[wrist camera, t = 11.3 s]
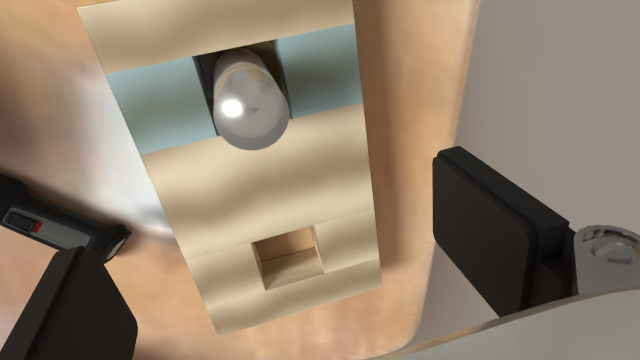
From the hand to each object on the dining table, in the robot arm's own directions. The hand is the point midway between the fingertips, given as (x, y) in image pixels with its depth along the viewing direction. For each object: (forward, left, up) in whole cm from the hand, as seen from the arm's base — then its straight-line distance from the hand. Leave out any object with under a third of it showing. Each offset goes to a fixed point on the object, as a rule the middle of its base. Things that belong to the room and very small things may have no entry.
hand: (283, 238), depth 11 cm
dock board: (+8, 0, -21) cm, 23 cm away
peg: (0, 0, -21) cm, 21 cm away
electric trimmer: (+6, -18, -22) cm, 29 cm away
